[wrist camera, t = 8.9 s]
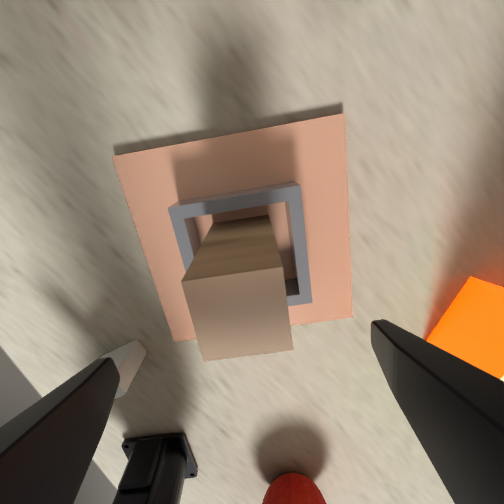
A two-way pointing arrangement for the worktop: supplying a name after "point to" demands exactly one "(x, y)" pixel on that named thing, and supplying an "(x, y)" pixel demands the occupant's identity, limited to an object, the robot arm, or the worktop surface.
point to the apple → (293, 491)
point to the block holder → (248, 210)
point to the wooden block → (238, 291)
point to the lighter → (127, 364)
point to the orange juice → (474, 327)
